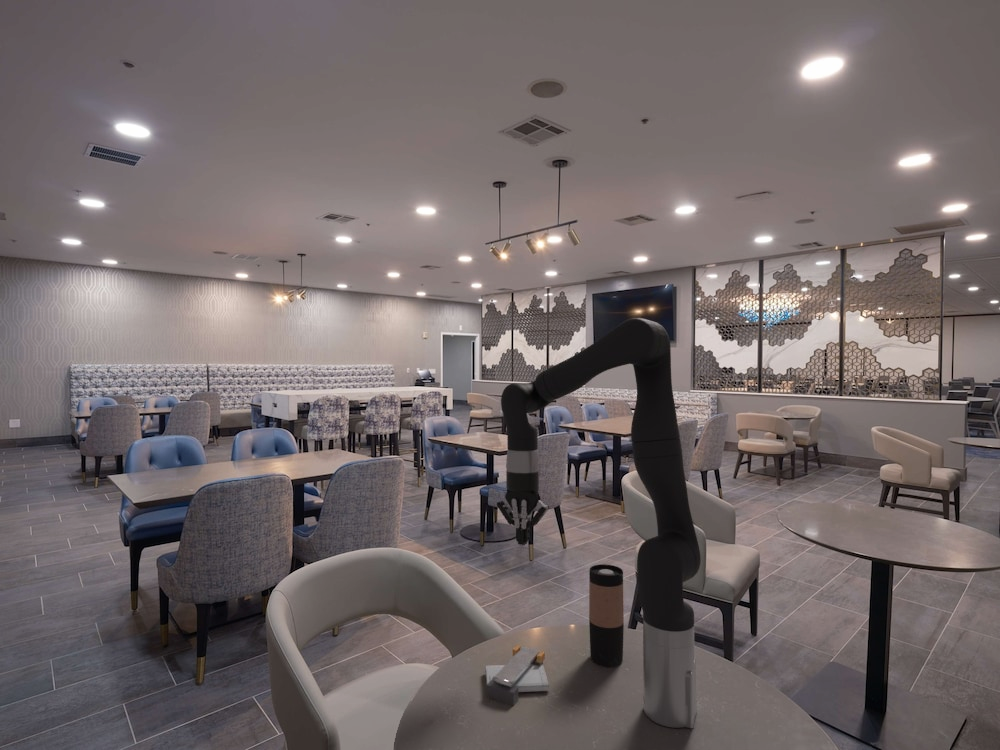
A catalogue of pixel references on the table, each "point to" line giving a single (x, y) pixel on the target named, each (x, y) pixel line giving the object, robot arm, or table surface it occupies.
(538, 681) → the hard drive
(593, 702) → the table surface
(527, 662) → the grey flat bar
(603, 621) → the travel mug
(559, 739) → the table surface
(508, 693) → the bracket
